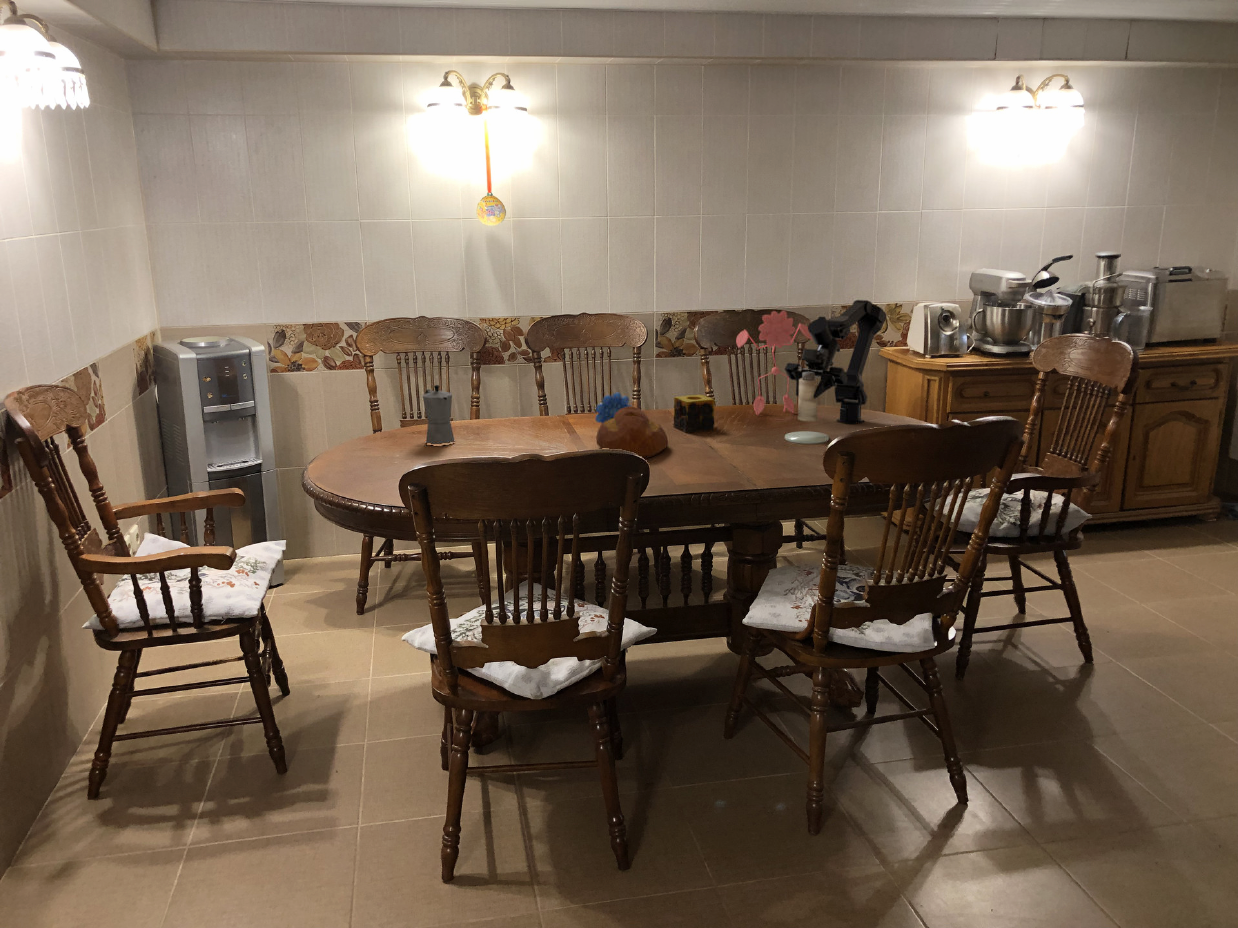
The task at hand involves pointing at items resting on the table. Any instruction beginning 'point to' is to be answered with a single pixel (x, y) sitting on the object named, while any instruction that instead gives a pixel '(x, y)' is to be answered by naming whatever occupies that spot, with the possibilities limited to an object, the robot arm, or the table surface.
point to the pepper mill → (807, 397)
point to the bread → (632, 433)
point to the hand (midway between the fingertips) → (805, 396)
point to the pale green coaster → (806, 437)
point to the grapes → (610, 406)
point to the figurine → (774, 334)
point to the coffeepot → (438, 416)
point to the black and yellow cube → (693, 413)
